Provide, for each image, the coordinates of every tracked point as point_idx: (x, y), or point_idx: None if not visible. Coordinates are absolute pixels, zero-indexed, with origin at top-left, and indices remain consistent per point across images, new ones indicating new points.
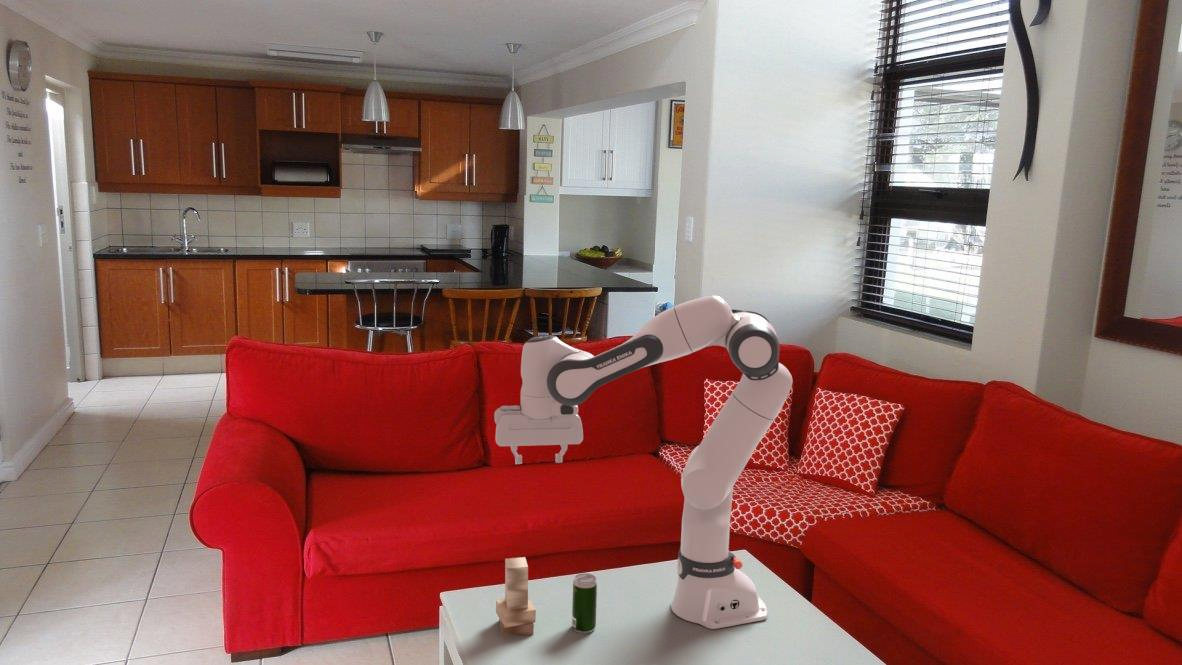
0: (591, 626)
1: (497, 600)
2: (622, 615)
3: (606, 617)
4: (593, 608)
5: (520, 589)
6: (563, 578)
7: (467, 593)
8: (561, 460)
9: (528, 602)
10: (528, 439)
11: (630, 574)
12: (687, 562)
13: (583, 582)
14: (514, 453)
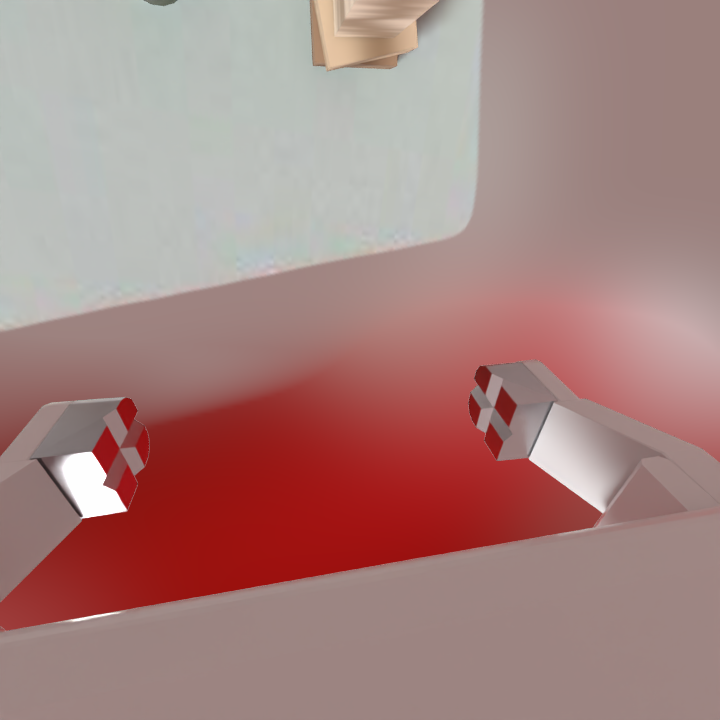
0: None
1: (415, 41)
2: (32, 31)
3: (85, 27)
4: None
5: None
6: (228, 275)
7: (437, 225)
8: (49, 414)
9: (325, 4)
10: (687, 687)
11: (59, 283)
12: None
13: None
14: (629, 425)
